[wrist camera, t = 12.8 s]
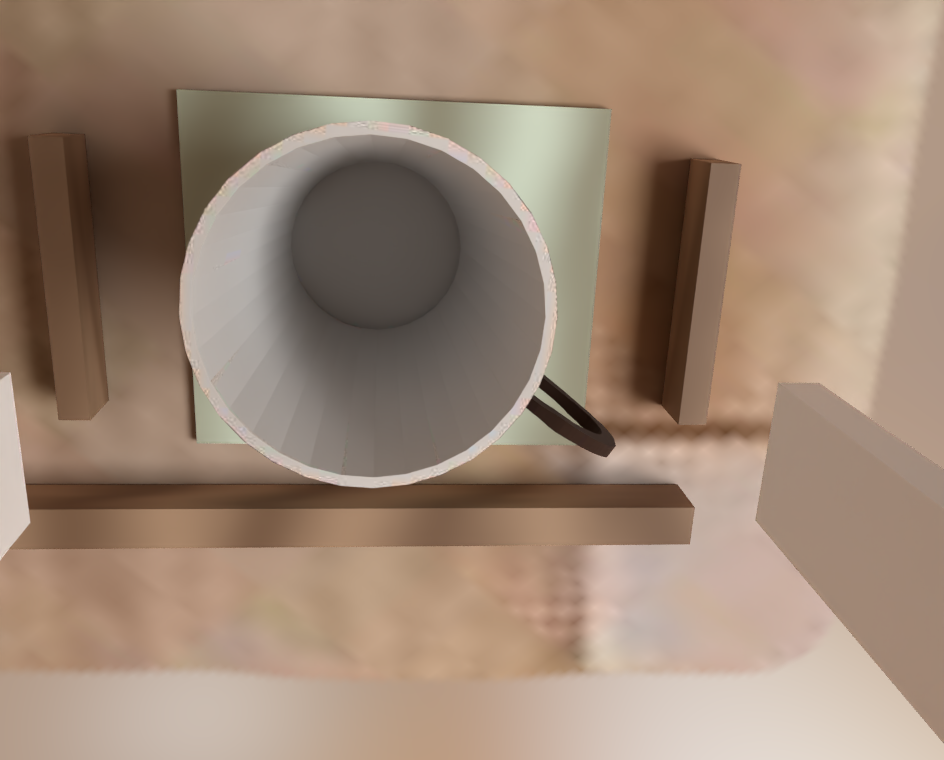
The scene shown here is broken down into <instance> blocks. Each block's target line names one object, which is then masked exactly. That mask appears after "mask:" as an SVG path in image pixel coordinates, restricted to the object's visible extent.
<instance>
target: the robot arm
mask: <svg viewBox="0 0 944 760" xmlns="http://www.w3.org/2000/svg"><path fill="white" fill-rule="evenodd" d="M756 521H757V523H758V524H759V525H760V526H761V527H762V529H763V530H764V531H765V532H766V533H767V535H768V536H769V537H770V538H771V539H772V540H773V542H774V543H775V544H776V545H777V546H778V548H779V549H780V550H781V551H782V552H783V553H784V555H785V556H786V557H787V558H788V559H789V561H790V562H791V563H792V564H793V565H794V567H795V568H796V569H797V570H798V571H799V572H800V574H801V575H802V576H803V577H804V578H805V580H806V581H807V582H808V583H809V584H810V585H811V587H812V588H813V589H814V590H815V591H816V593H817V594H818V595H819V596H820V597H821V599H822V600H823V601H824V602H825V603H826V604H827V606H828V607H829V608H830V609H831V610H832V612H833V613H834V614H835V615H836V616H837V617H838V619H839V620H840V621H841V622H842V623H843V625H844V626H845V627H846V628H847V629H848V631H849V632H850V633H851V634H852V635H853V636H854V638H856V640H857V641H858V642H859V644H860V645H861V646H862V647H863V648H864V649H865V651H866V652H867V653H868V654H869V655H870V657H871V658H872V659H873V660H874V661H875V663H876V664H877V665H878V666H879V667H880V668H881V670H882V671H883V672H884V673H885V674H886V676H887V677H888V678H889V679H890V680H891V681H892V683H893V684H894V685H895V686H896V687H897V689H898V690H899V691H900V692H901V693H902V695H904V697H905V698H906V699H907V700H908V701H909V703H910V704H911V705H912V706H913V707H914V709H915V710H916V711H917V712H918V713H919V714H920V716H921V717H922V718H923V719H924V721H925V722H926V723H927V724H928V725H929V726H930V728H931V729H932V730H933V731H934V732H935V734H936V735H937V736H938V737H939V738H940V740H941V741H942V742H943V743H944V469H942V468H941V467H940V466H938V465H937V464H935V463H934V462H932V461H931V460H929V459H928V458H927V457H925V456H923V455H922V454H921V453H919V452H918V451H916V450H915V449H913V448H912V447H911V446H909V445H908V444H906V443H905V442H903V441H902V440H901V439H899V438H898V437H896V436H895V435H893V434H892V433H890V432H889V431H887V430H886V429H885V428H883V427H882V426H880V425H879V424H877V423H876V422H875V421H873V420H872V419H870V418H869V417H867V416H866V415H864V414H863V413H862V412H860V411H859V410H857V409H856V408H854V407H853V406H851V405H850V404H849V403H847V402H846V401H844V400H843V399H841V398H840V397H838V396H837V395H836V394H834V393H833V392H831V391H830V390H828V389H827V388H825V387H824V386H823V385H821V384H820V383H778V388H777V394H776V400H775V406H774V412H773V418H772V424H771V430H770V436H769V442H768V448H767V454H766V460H765V466H764V472H763V478H762V484H761V490H760V496H759V502H758V508H757V514H756ZM29 524H30V516H29V508H28V501H27V493H26V486H25V478H24V471H23V463H22V455H21V448H20V440H19V433H18V425H17V417H16V410H15V402H14V395H13V387H12V380H11V372H0V559H1V558H2V557H3V556H4V555H5V553H6V552H7V551H8V550H9V548H10V547H11V546H12V545H13V543H14V542H15V541H16V540H17V539H18V537H19V536H20V535H21V534H22V532H23V531H24V530H25V529H26V528H27V526H28V525H29Z"/></svg>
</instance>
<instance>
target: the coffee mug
mask: <svg viewBox="0 0 944 760" xmlns="http://www.w3.org/2000/svg"><path fill="white" fill-rule="evenodd" d="M557 318H558V314H557V289H556V279H555V275H554V271H553V267H552V263H551V259H550V254H549V250H548V247H547V244H546V242H545V240H544V238H543V236H542V234H541V232H540V230H539V227H538V225H537V223H536V221H535V219H534V217H533V215H532V213H531V212H530V210H529V209H528V208H527V206H526V205H525V204H524V202H523V201H522V200H521V198H520V197H519V195H518V194H517V193H516V191H515V190H514V189H513V187H512V186H511V185H510V183H509V182H507V181H506V180H505V179H504V178H503V177H502V176H501V175H500V174H498V173H497V172H496V171H495V170H494V169H493V168H492V167H491V166H490V165H488V164H487V163H486V162H485V161H484V160H483V159H482V158H480V157H479V156H477V155H475V154H474V153H472V152H470V151H468V150H467V149H465V148H463V147H462V146H460V145H458V144H456V143H455V142H453V141H451V140H450V139H448V138H445V137H442V136H440V135H437V134H434V133H431V132H428V131H425V130H422V129H419V128H416V127H413V126H410V125H403V124H395V123H387V122H379V121H372V120H369V121H356V122H343V123H331V124H327V125H324V126H320V127H317V128H313V129H310V130H306V131H303V132H300V133H296V134H293V135H291V136H289V137H287V138H285V139H283V140H281V141H280V142H278V143H276V144H274V145H272V146H270V147H268V148H266V149H265V150H263V151H261V152H259V153H257V154H256V155H255V156H254V157H253V158H252V159H250V160H249V161H248V162H247V163H246V164H244V165H243V166H242V167H241V168H240V169H238V170H237V171H236V172H235V173H234V174H233V175H231V176H230V177H229V178H228V179H227V180H226V182H225V183H224V184H223V186H222V187H221V188H220V189H219V191H218V192H217V193H216V195H215V196H214V197H213V199H212V200H211V201H210V202H209V204H208V205H207V206H206V208H205V209H204V211H203V213H202V215H201V218H200V220H199V222H198V224H197V226H196V228H195V230H194V232H193V234H192V236H191V238H190V241H189V243H188V247H187V251H186V255H185V259H184V264H183V268H182V272H181V276H180V294H179V319H180V324H181V330H182V335H183V341H184V346H185V352H186V354H187V357H188V359H189V362H190V364H191V367H192V369H193V372H194V374H195V377H196V379H197V382H198V384H199V386H200V388H201V389H202V391H203V392H204V394H205V395H206V397H207V398H208V400H209V401H210V403H211V405H212V406H213V408H214V409H215V411H216V412H217V414H218V415H219V416H220V417H221V419H222V420H223V421H224V422H225V423H226V424H227V425H228V426H229V427H230V428H231V429H232V430H233V431H234V432H235V433H236V434H237V435H238V436H239V437H240V438H241V439H242V440H243V441H244V442H245V443H247V444H248V445H249V446H251V447H252V448H254V449H255V450H257V451H258V452H259V453H261V454H262V455H264V456H265V457H266V458H268V459H269V460H271V461H272V462H274V463H276V464H278V465H280V466H283V467H285V468H287V469H289V470H291V471H293V472H296V473H298V474H300V475H302V476H304V477H307V478H311V479H315V480H319V481H323V482H327V483H331V484H335V485H339V486H351V487H364V488H380V487H390V486H399V485H409V484H412V483H415V482H419V481H422V480H426V479H429V478H433V477H436V476H439V475H442V474H444V473H446V472H448V471H450V470H452V469H454V468H456V467H458V466H460V465H462V464H464V463H466V462H468V461H470V460H472V459H473V458H475V457H476V456H477V455H479V454H480V453H481V452H483V451H484V450H485V449H487V448H488V447H489V446H491V445H492V444H493V443H495V442H496V441H497V440H499V439H500V438H501V437H502V435H503V434H504V433H505V432H506V431H507V430H508V429H509V428H510V427H511V426H512V424H513V423H514V422H515V421H516V420H517V419H518V418H519V417H520V416H521V415H522V413H523V412H524V410H525V408H527V409H528V410H529V411H530V412H532V413H533V414H534V415H535V416H537V417H538V418H539V419H540V420H541V421H543V422H544V423H545V424H546V425H547V426H548V427H549V428H551V429H552V430H553V431H555V432H556V433H558V434H559V435H561V436H562V437H564V438H566V439H568V440H569V441H571V442H573V443H575V444H576V445H578V446H580V447H582V448H584V449H586V450H588V451H590V452H592V453H594V454H597V455H600V456H603V457H607V456H608V455H609V454H610V452H611V451H612V450H613V449H614V447H615V446H616V445H615V441H614V438H613V437H612V435H611V434H610V433H609V432H608V431H607V429H606V428H605V427H604V426H603V425H602V424H601V423H600V422H599V421H597V420H596V419H595V418H594V417H593V416H592V415H591V414H590V413H589V412H588V411H586V410H585V409H584V408H583V407H582V406H581V405H580V404H579V403H577V402H576V401H575V400H574V399H573V398H572V397H570V396H569V395H568V394H567V393H566V392H565V391H564V390H562V389H561V388H560V387H559V386H557V385H556V384H555V383H554V382H553V381H551V380H550V379H549V378H548V377H546V376H545V375H544V373H545V370H546V367H547V364H548V362H549V359H550V356H551V354H552V350H553V343H554V337H555V331H556V324H557ZM538 387H539V388H540V389H541V390H542V391H544V392H545V393H546V394H547V395H549V396H550V397H551V398H552V399H553V400H555V401H556V402H557V403H558V404H559V405H560V406H561V407H562V408H563V409H564V410H565V411H566V412H567V414H569V415H570V416H571V417H572V418H573V419H574V420H575V421H576V422H577V423H578V424H579V425H580V426H581V427H580V426H579V425H577V424H575V423H573V422H572V421H571V420H569V419H568V418H566V417H565V416H563V415H562V414H561V413H559V412H558V411H556V410H555V409H554V408H552V407H550V406H549V405H547V404H546V403H544V402H543V401H541V400H540V399H539V398H537V397H536V396H535V395H534V394H535V392H536V390H537V389H538ZM582 427H583V428H582Z"/></svg>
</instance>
